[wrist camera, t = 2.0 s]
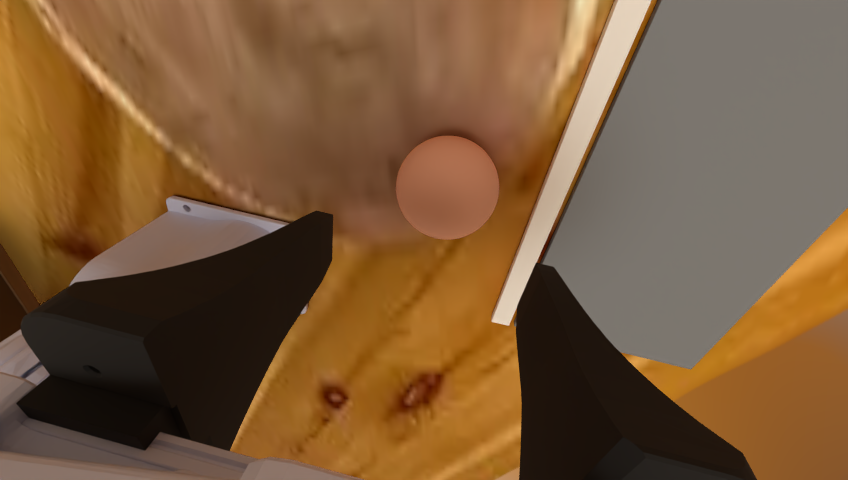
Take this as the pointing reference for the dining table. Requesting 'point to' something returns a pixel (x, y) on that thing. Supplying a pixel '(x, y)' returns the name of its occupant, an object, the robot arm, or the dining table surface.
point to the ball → (447, 187)
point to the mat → (694, 169)
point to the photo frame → (13, 297)
